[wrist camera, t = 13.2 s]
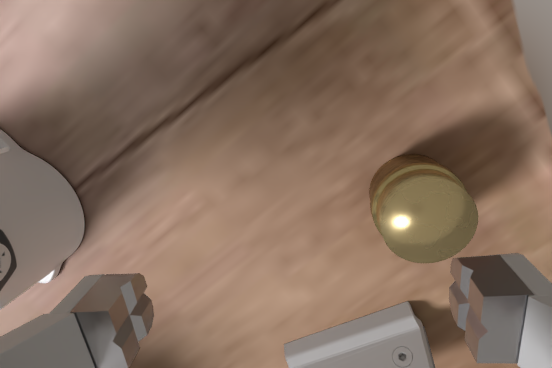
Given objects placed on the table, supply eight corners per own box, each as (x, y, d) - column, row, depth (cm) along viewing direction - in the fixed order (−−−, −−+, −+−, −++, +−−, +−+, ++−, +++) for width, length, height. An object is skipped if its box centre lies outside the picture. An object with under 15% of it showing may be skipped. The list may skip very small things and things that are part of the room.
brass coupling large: (366, 228, 38) (377, 267, 32) (366, 153, 35) (377, 180, 29) (448, 225, 37) (476, 264, 31) (455, 148, 34) (487, 174, 28)
